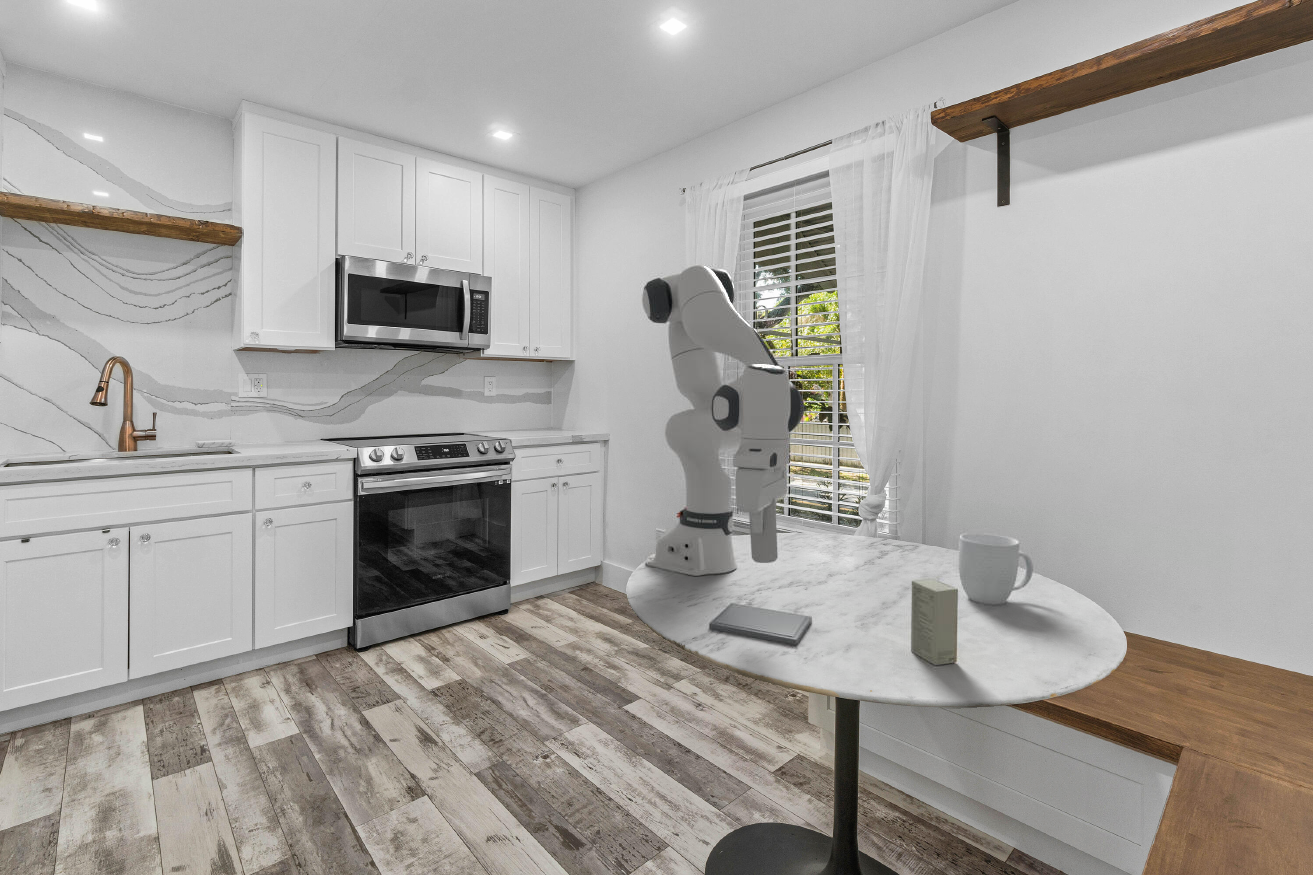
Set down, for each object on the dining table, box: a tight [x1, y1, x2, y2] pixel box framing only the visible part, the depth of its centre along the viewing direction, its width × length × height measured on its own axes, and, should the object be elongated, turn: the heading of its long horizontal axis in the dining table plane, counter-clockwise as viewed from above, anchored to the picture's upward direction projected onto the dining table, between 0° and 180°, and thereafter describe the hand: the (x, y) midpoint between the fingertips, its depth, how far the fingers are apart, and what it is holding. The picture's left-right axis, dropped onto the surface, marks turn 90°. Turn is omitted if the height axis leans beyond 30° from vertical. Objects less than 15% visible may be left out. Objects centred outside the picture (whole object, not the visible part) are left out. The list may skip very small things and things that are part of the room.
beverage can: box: [748, 496, 779, 564], centre depth 112 cm, size 5×5×12 cm
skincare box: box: [910, 578, 959, 666], centre depth 100 cm, size 6×4×12 cm
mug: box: [958, 532, 1034, 606], centre depth 128 cm, size 15×11×13 cm
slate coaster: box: [708, 602, 813, 646], centre depth 113 cm, size 16×12×1 cm
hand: (763, 528), depth 112 cm, fingers closed on beverage can, 5 cm apart
